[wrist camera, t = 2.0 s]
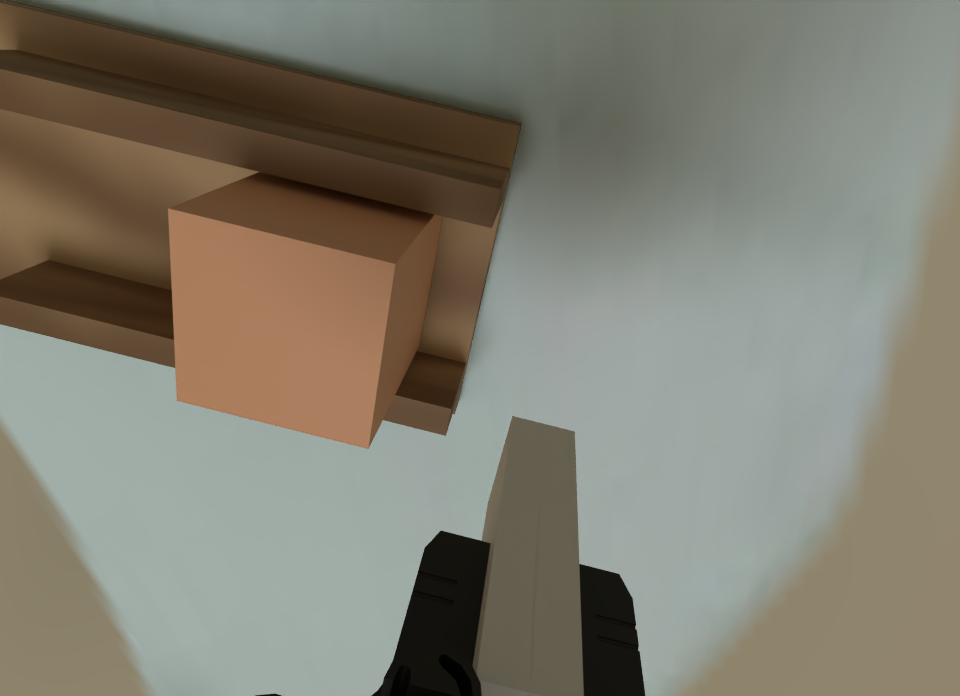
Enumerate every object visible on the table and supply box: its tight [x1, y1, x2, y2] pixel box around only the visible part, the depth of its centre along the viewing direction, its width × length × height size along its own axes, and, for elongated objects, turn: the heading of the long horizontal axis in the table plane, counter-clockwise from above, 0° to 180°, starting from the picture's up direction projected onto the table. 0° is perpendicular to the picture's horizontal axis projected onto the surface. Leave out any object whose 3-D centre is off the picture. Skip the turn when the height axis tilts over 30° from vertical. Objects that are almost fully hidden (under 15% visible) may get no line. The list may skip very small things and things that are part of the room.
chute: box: [0, 0, 522, 436], centre depth 22 cm, size 12×26×4 cm, turn 78°
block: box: [168, 172, 443, 449], centre depth 19 cm, size 6×6×7 cm
